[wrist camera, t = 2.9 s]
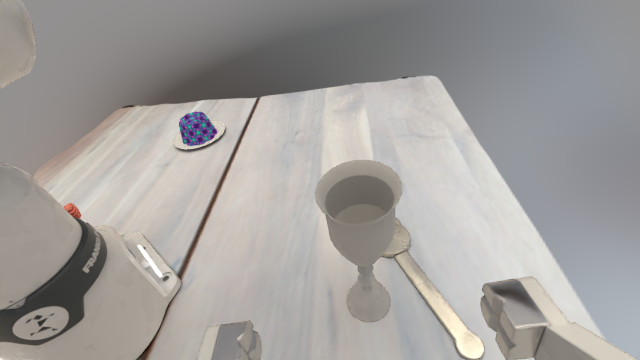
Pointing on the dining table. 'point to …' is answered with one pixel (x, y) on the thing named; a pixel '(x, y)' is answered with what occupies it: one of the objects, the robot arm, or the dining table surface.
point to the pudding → (197, 131)
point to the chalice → (361, 226)
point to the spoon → (433, 296)
